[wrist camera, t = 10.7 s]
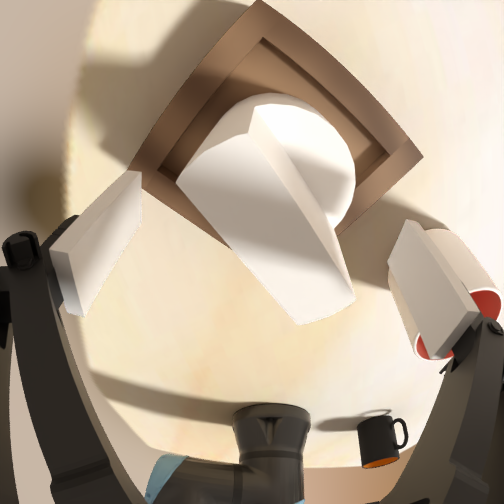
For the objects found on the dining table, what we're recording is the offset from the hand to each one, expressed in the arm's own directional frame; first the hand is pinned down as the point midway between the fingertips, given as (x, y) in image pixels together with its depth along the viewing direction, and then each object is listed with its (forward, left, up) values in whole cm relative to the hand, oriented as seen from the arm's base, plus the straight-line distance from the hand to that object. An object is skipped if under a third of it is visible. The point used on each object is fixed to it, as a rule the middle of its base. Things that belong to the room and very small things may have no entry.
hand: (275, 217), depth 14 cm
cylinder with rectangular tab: (0, 0, -9) cm, 9 cm away
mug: (-26, -56, -12) cm, 63 cm away
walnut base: (0, 0, -12) cm, 12 cm away
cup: (+2, -21, -12) cm, 24 cm away
